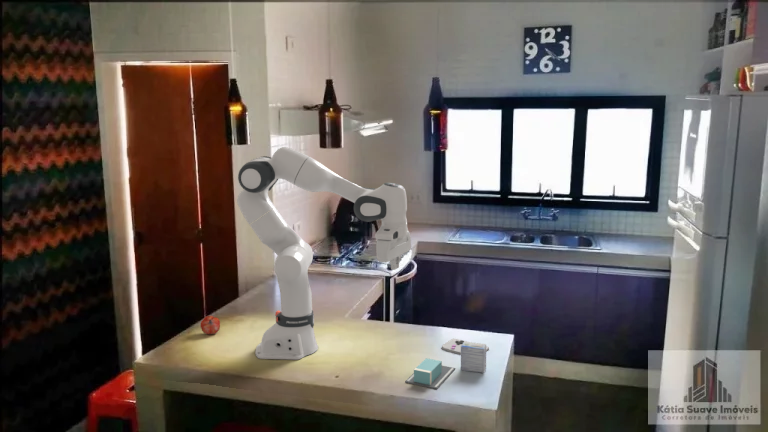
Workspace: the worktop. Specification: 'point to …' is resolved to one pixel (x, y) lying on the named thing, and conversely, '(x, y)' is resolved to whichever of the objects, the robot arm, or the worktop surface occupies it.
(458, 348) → the handheld gaming console
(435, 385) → the mat
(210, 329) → the orange pumpkin
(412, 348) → the worktop surface
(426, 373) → the tea box
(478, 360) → the medicine box
